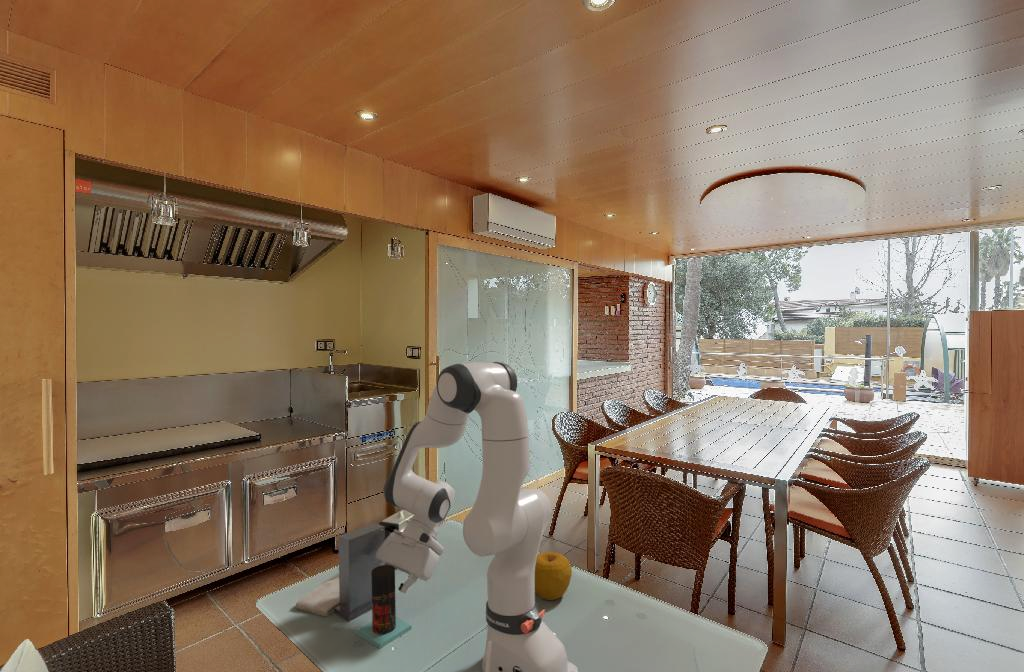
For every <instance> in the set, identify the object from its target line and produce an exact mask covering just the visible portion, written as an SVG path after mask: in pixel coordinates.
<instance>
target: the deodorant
mask: <svg viewBox="0 0 1024 672" xmlns="http://www.w3.org/2000/svg"><path fill="white" fill-rule="evenodd" d="M371 574H372V610H371V619H372V621H371V622H372V630H373V632H374V633H375V634H378V635H384V634H388V633H390V632H392V631H393V630H394V629H395V628H396V617H397V614H396V613H397V612H396V611H397V609H396V568H395V567H393V566H391V565H382V566H378V567H376V568H374V569H373V570H372V572H371Z"/></svg>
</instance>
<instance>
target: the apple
mask: <svg viewBox="0 0 1024 672" xmlns="http://www.w3.org/2000/svg"><path fill="white" fill-rule="evenodd" d="M572 571H573V570H572V566H571V564H570V561H569V559H568V558H566V556H564V555H563V554H560V553H558V552H551V551H546V552H541V553H538V555H537V560H536V565H535V594H537V595H538V597H539V598H541V599H542V600H543V599H544V600H548V601H553V600H557V599H560V598H562V597H563V596H564V595H565V593H566V592H567V590H568V588H569V585H570V582H571V579H572V574H573V572H572Z"/></svg>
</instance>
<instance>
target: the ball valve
mask: <svg viewBox="0 0 1024 672" xmlns="http://www.w3.org/2000/svg"><path fill="white" fill-rule="evenodd" d="M413 515H414V514H412V513H410V512H408V511H406V510H404V509H401V510H399V511H397V512H396V513H393V514H392V515H390V516H388V517H386V518H384V519H383V520H381V521H379V525H382V526H385V540H386V538H387V537H388V536H390V534H391V533H393V532H395V531H396V530H399V531H401V532H403V531H404V529H405V527H406V525H407V524H408V522H409V520H410V519H411V517H412V516H413ZM395 534H396V533H395Z"/></svg>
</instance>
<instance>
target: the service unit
mask: <svg viewBox="0 0 1024 672" xmlns="http://www.w3.org/2000/svg"><path fill="white" fill-rule="evenodd" d="M337 537H338V540H337V541H338V576H339V598H340V605H339V606H337V607H335V608H334V610H335V611H334V614H335V615H337V616H338V617H340V618H342V619H343V620H344V621H347V622H349V623H350V622H351V621H354V620H355V619H358V618H359V617H361V616H363V615H364V614H367V613H368V612H370V611H372V574H371V572H372V570H373V569H374V568H376V567H378V566H380V564H381V563H382V562H380V561H379V560H378V559H376V552H377V551H378V549H379V548H380V546H381V545H382V544H383V542H384V541H385V526H382V525H379V524H378V523H376V522H373V523H370V524H368V525H364V526H362V527H359V528H356V529H354V530H351V531H349V532H346V533H343V534H340V535H338V536H337Z"/></svg>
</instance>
